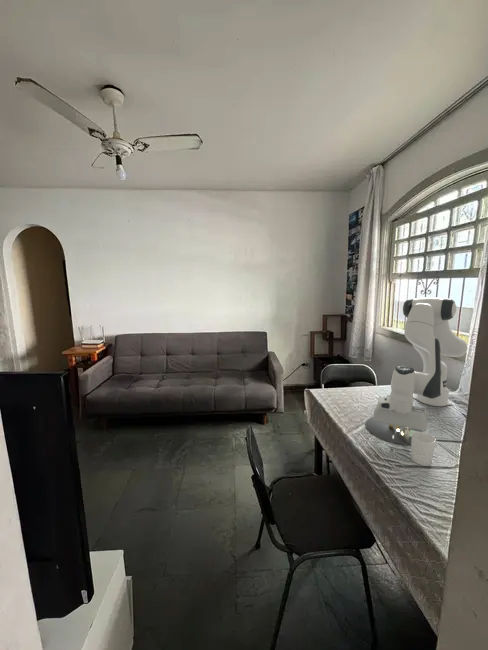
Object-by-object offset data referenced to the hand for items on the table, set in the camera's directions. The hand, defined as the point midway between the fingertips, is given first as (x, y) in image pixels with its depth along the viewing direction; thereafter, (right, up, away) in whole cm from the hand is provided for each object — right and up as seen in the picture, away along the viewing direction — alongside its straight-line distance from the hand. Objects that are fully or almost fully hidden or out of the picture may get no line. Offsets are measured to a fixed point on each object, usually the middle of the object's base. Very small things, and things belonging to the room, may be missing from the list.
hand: (397, 434), depth 122 cm
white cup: (+3, -6, -12) cm, 14 cm away
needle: (+3, -2, +5) cm, 6 cm away
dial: (+4, -2, +10) cm, 11 cm away
